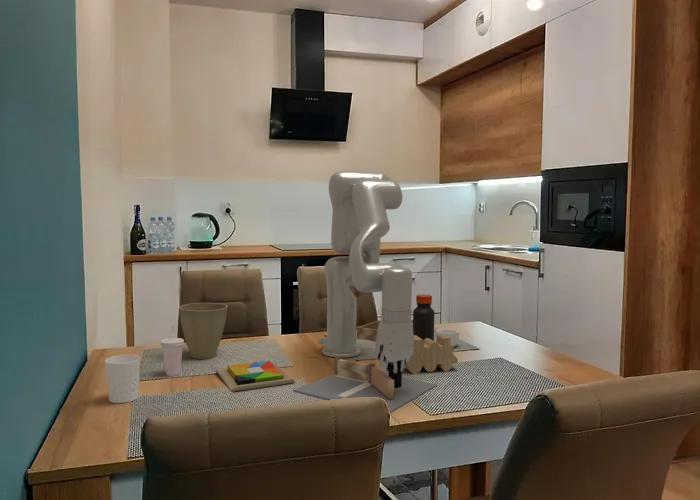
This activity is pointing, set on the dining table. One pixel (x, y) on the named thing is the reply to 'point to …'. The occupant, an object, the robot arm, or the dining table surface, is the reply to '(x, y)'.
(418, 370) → the toy train
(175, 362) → the smoothie
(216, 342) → the plant pot
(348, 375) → the fixed fence panel
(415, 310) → the bottle
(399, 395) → the card
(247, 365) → the wooden puzzle
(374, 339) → the tray
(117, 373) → the white cup
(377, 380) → the hinged fence panel
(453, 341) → the teacup
